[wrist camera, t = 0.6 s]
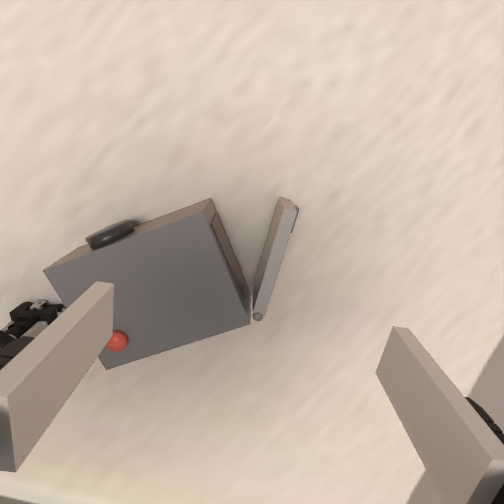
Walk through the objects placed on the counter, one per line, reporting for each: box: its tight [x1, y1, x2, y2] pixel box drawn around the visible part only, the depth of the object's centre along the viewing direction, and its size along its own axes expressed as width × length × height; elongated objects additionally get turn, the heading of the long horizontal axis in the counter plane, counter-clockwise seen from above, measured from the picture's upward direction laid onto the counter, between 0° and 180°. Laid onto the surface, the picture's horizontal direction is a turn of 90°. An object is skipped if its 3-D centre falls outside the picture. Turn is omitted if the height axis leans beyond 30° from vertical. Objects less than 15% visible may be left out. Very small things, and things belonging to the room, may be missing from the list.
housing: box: [43, 198, 251, 370], centre depth 33 cm, size 16×13×7 cm
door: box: [253, 197, 299, 321], centre depth 33 cm, size 2×12×6 cm, turn 165°
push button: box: [0, 300, 67, 349], centre depth 34 cm, size 7×5×10 cm
